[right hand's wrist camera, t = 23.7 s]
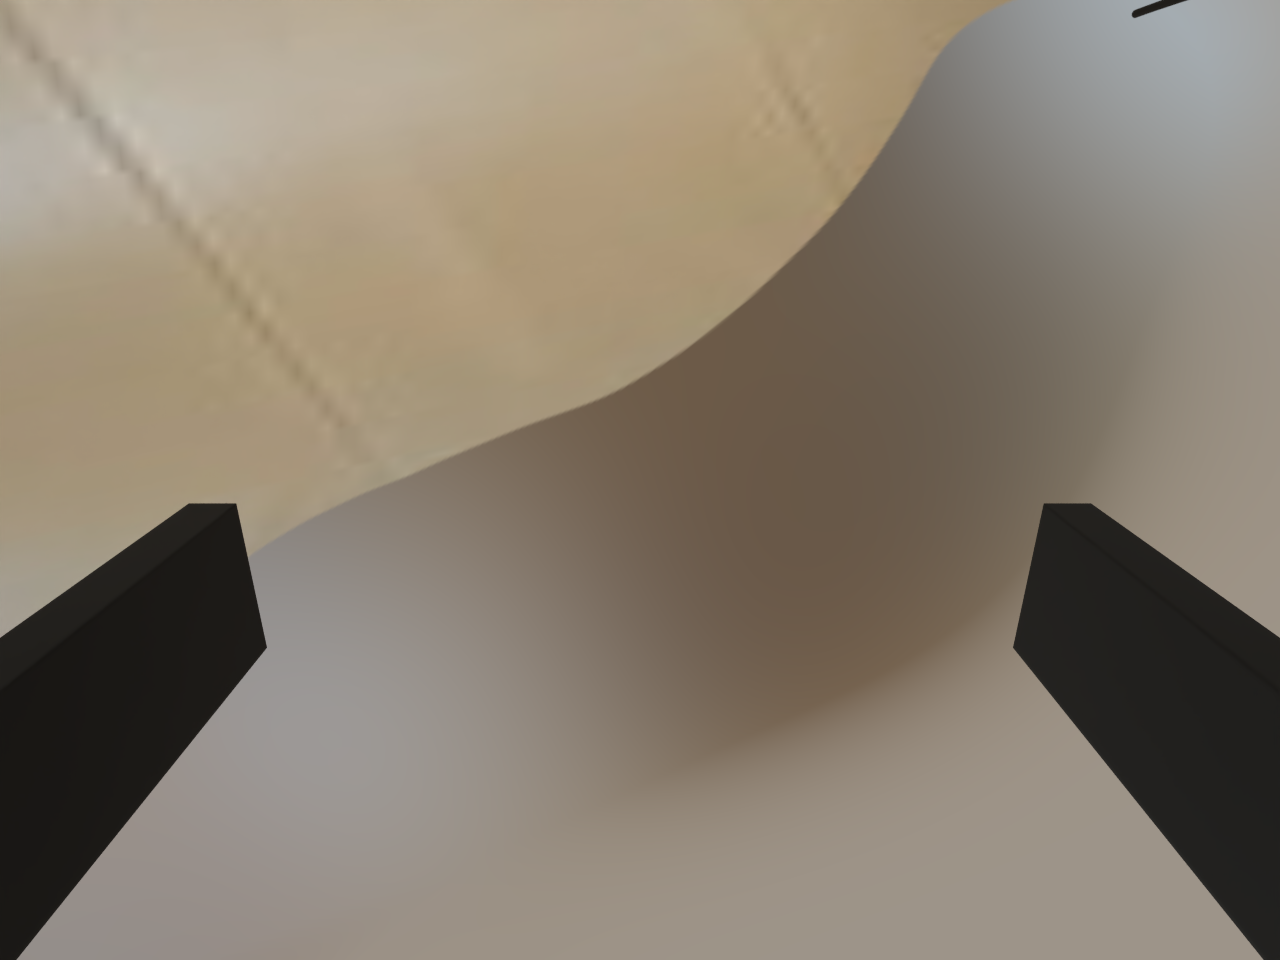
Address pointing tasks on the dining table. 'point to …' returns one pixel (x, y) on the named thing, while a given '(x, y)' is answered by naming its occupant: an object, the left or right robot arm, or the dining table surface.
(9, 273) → the dining table surface
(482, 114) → the dining table surface
